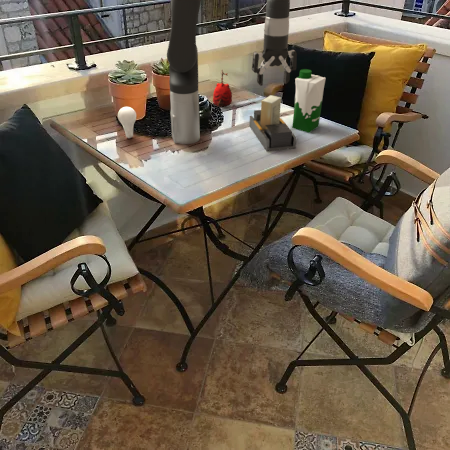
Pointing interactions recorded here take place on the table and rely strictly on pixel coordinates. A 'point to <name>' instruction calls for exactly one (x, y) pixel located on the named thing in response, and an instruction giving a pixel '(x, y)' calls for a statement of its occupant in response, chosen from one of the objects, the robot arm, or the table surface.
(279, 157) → the table surface
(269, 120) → the skincare box
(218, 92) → the red clay folk toy
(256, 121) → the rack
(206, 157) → the table surface
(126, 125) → the lightbulb
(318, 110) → the milk carton
